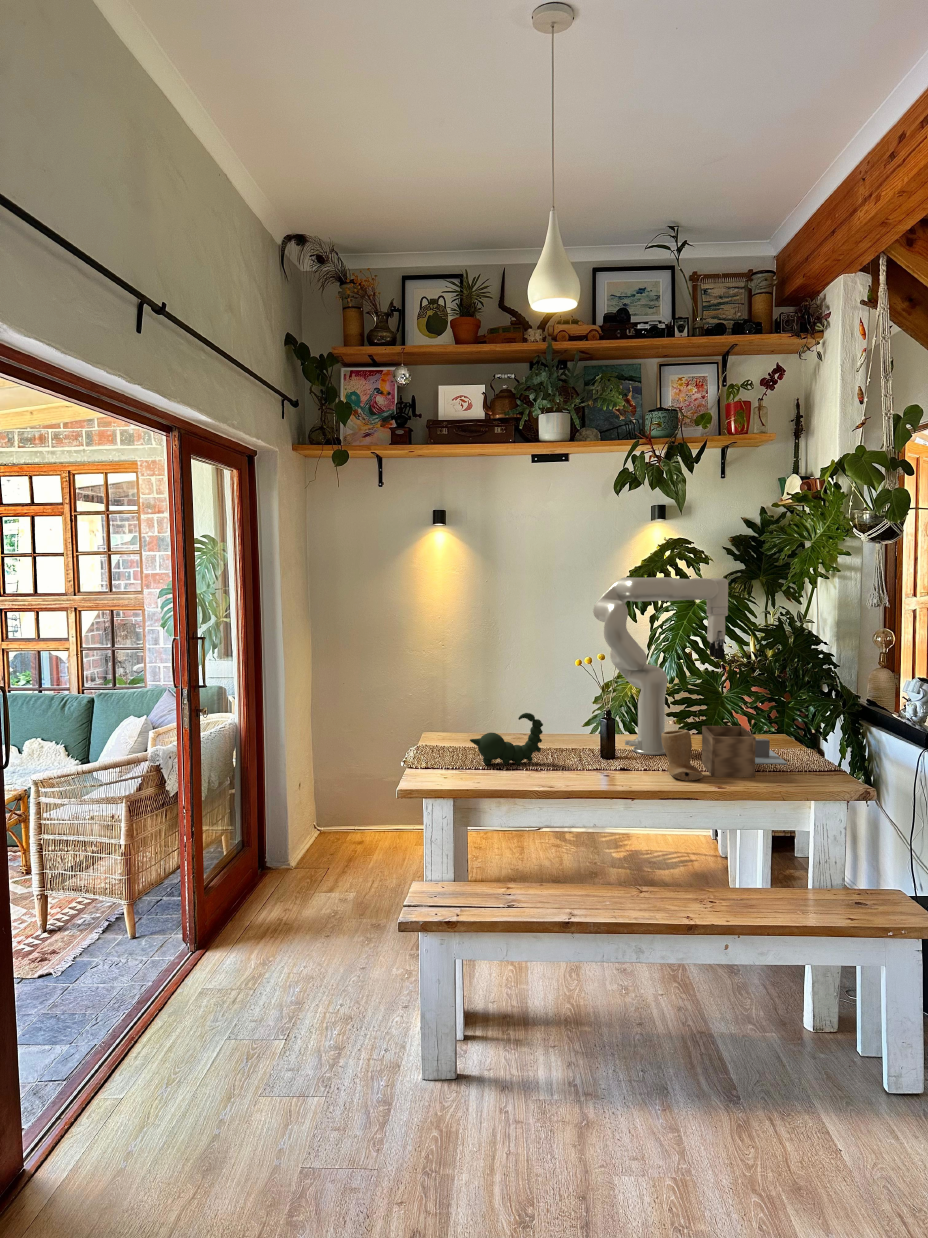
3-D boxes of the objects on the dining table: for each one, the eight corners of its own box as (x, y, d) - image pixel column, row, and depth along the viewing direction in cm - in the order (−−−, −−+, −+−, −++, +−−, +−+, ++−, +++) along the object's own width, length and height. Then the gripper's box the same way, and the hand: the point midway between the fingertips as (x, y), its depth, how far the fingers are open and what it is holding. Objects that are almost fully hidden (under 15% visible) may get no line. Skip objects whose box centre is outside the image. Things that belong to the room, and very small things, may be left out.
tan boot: (658, 769, 285) (659, 725, 284) (695, 770, 284) (695, 726, 283) (665, 782, 270) (665, 735, 269) (703, 782, 269) (704, 736, 268)
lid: (743, 766, 291) (744, 745, 290) (730, 753, 309) (731, 733, 309) (787, 766, 290) (787, 745, 289) (771, 753, 308) (771, 733, 308)
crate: (711, 776, 276) (712, 737, 275) (701, 763, 293) (702, 726, 292) (754, 777, 275) (755, 737, 274) (742, 763, 292) (742, 726, 291)
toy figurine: (536, 764, 302) (466, 760, 299) (540, 711, 300) (470, 707, 298) (541, 770, 292) (469, 767, 290) (546, 716, 291) (473, 712, 288)
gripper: (702, 609, 323) (701, 654, 325) (711, 613, 306) (710, 660, 307) (722, 609, 323) (722, 654, 324) (732, 613, 305) (732, 660, 307)
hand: (716, 657), depth 316 cm, fingers open, 9 cm apart
